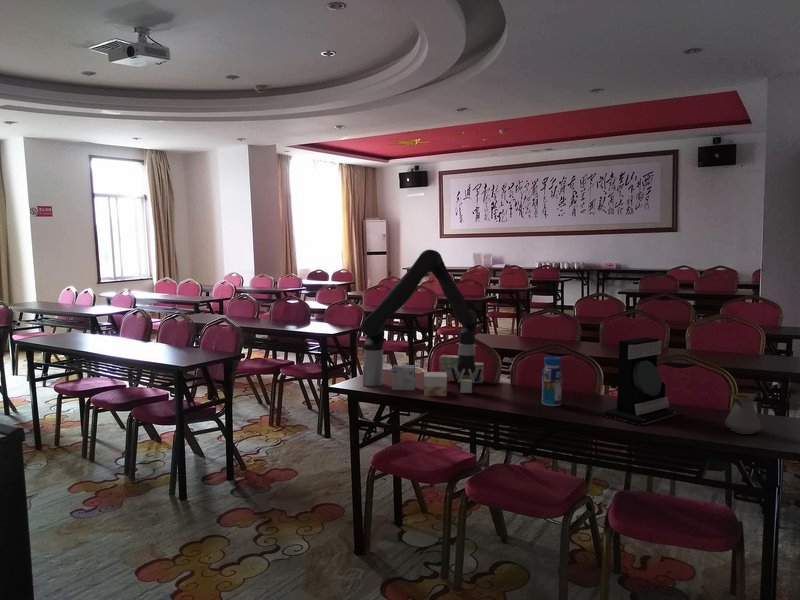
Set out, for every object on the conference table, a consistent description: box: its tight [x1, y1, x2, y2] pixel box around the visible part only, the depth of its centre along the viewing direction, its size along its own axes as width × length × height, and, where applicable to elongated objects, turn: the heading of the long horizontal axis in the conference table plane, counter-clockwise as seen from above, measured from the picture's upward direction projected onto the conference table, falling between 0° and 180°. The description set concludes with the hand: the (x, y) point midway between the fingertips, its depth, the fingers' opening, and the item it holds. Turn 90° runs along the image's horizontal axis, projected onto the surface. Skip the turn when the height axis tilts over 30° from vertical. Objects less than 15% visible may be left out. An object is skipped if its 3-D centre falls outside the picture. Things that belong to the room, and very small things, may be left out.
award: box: [601, 336, 680, 424], centre depth 238 cm, size 30×19×30 cm, turn 126°
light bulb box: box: [391, 364, 416, 391], centre depth 281 cm, size 11×7×11 cm, turn 84°
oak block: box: [423, 386, 448, 397], centre depth 273 cm, size 10×10×4 cm
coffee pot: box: [724, 394, 762, 433], centre depth 213 cm, size 21×12×15 cm, turn 140°
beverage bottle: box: [541, 355, 563, 407], centre depth 254 cm, size 8×8×20 cm
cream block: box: [423, 371, 448, 388], centre depth 272 cm, size 10×10×4 cm
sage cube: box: [459, 379, 473, 394], centre depth 275 cm, size 5×5×5 cm
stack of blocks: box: [438, 354, 485, 384], centre depth 298 cm, size 21×6×12 cm, turn 73°
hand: (466, 390), depth 275 cm, fingers closed on sage cube, 5 cm apart
